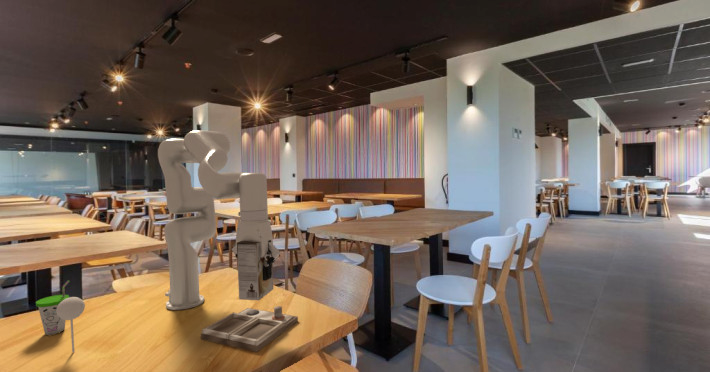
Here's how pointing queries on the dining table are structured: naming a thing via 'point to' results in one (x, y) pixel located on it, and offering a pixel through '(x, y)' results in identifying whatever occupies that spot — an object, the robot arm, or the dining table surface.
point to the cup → (52, 312)
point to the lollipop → (70, 311)
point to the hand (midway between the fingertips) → (256, 277)
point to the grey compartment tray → (249, 328)
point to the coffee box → (251, 272)
